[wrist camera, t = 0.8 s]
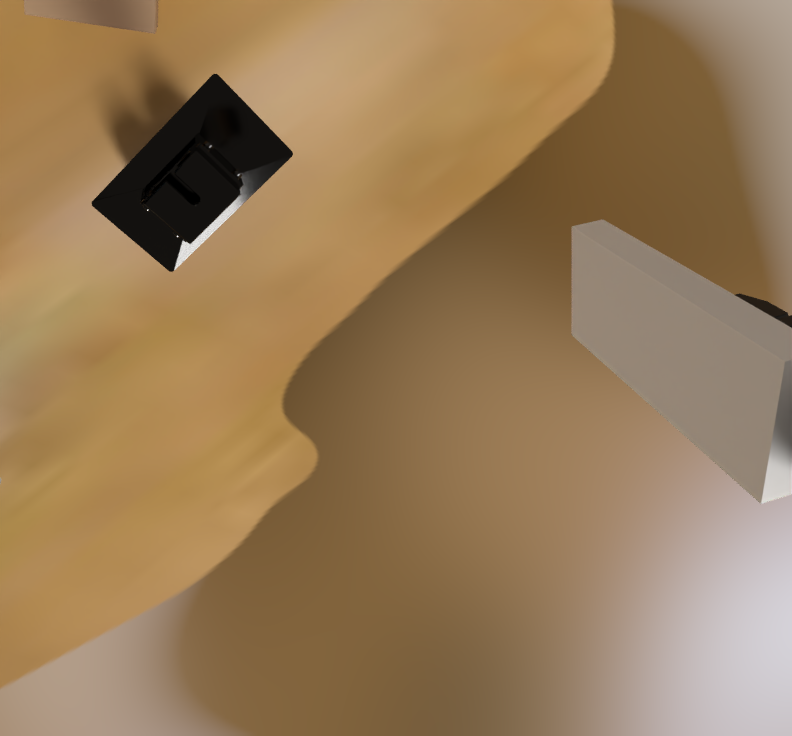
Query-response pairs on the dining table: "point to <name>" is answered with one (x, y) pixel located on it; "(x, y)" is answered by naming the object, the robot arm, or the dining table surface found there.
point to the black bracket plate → (193, 174)
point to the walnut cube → (100, 12)
